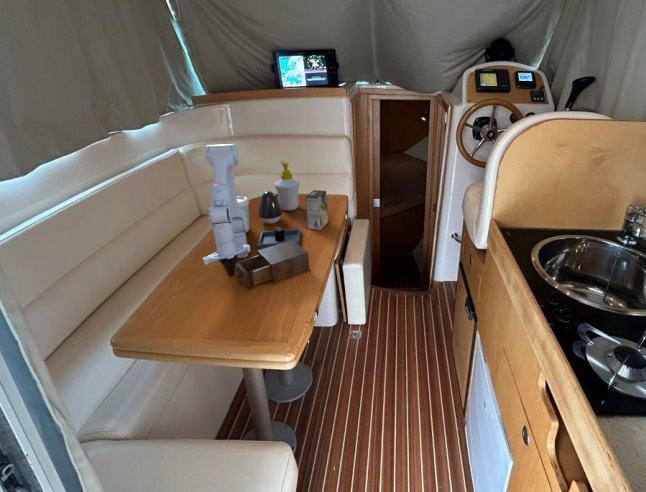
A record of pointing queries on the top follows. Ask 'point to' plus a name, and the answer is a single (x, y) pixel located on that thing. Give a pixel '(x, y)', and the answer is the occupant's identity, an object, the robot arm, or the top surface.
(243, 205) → the coffee cup
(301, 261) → the cabinet
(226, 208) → the robot arm
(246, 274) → the drawer
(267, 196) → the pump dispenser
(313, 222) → the coffee box
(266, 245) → the tray
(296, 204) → the soap bottle
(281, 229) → the spice tin
